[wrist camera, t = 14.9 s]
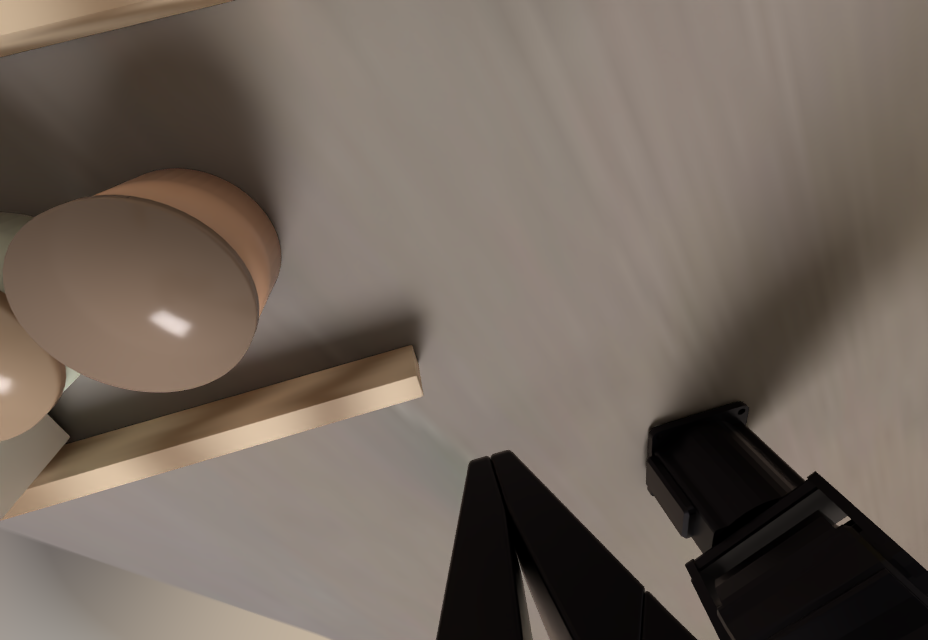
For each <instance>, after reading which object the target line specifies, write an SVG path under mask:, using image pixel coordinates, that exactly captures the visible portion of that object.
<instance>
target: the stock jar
mask: <svg viewBox="0 0 928 640" xmlns="http://www.w3.org/2000/svg"><path fill="white" fill-rule="evenodd" d="M33 218H34V217H33V216H29V215H24V214H17V213H4V212H0V441H4V440H8V439H10V438H13V437H16V436H18V435H20V434H22V433H24V432H26V431H28V430H29V429H31V428H32V427H33V426H35V425H36V424H37V423H38V422H39V421H40V420H41V419H42V418H43V417H44V416H45V415H46V414H47V413H48V412H49V411H50V410H51V409H52V408H53V407H54V406H55V405H56V404H57V402H58V400H59V399H60V397H61V396H62V393H63V392H64V391H65V390H66V389H67V388H68V387H69V386H70V385H71V384H72V383H73V382H74V381H75V380H76V379H77V378H78V377H79V376H80V375H81V374H80V373H78V372H76V371H74V370H73V369H71V368H69V367H67V366H65V365H64V364H62V363H61V362H59V361H58V360H56V359H55V358H53V357H52V356H51V355H50V354H48V353H47V352H46V351H45V350H44V349H42V348H41V347H40V346H39V345H38V344H37V343H36V342H35V341H34V340H33V339H32V338H31V337H30V336H29V335H28V334H27V332H26V331H25V330H24V328H23V327H22V326H21V325H20V323H19V322H18V320H17V318H16V317H15V315H14V313H13V311H12V310H11V307H10V305H9V302H8V300H7V297H6V293H5V289H4V285H3V264H4V257H5V254H6V252H7V249H8V246H9V244H10V242H11V241H12V239H13V238H14V236H15V235H16V233H17V232H18V231H19V230H20V229H21V228H22V227H23V226H24V225H25V224H26V223H27V222H29V221H30V220H31V219H33Z"/></svg>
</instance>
